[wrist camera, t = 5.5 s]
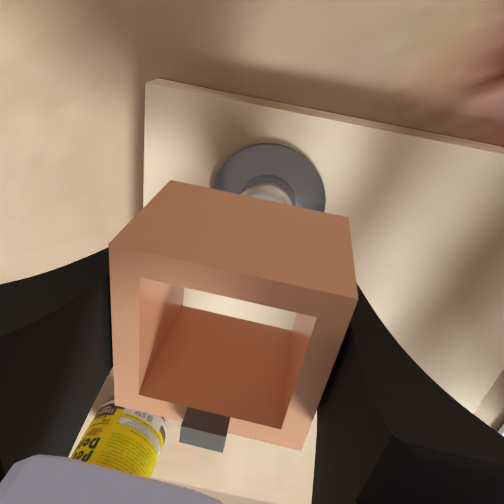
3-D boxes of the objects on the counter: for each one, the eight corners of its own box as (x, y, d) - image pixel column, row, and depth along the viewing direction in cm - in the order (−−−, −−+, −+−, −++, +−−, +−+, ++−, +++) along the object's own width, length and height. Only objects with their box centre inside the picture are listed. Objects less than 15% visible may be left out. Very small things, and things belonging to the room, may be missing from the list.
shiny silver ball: (338, 146, 18) (342, 185, 14) (311, 243, 21) (308, 301, 17) (227, 124, 18) (198, 155, 14) (215, 223, 21) (187, 274, 17)
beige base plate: (612, 168, 17) (636, 180, 16) (453, 409, 25) (461, 430, 24) (158, 78, 18) (145, 82, 17) (149, 337, 26) (140, 353, 25)
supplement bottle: (120, 382, 29) (32, 538, 20) (182, 421, 30) (124, 585, 21) (89, 416, 32) (-2, 566, 23) (146, 450, 33) (82, 606, 24)
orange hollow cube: (348, 217, 12) (360, 317, 8) (306, 348, 14) (300, 472, 10) (170, 179, 12) (94, 257, 8) (163, 315, 15) (104, 423, 11)
